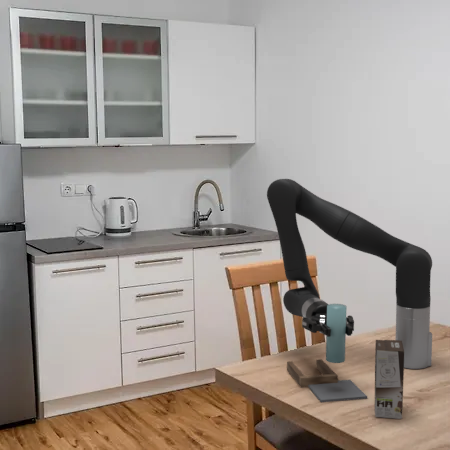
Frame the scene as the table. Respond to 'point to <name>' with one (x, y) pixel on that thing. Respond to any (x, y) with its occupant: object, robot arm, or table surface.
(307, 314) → the robot arm
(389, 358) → the coffee box
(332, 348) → the canister
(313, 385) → the felt pad
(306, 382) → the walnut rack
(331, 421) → the table surface
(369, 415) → the table surface
